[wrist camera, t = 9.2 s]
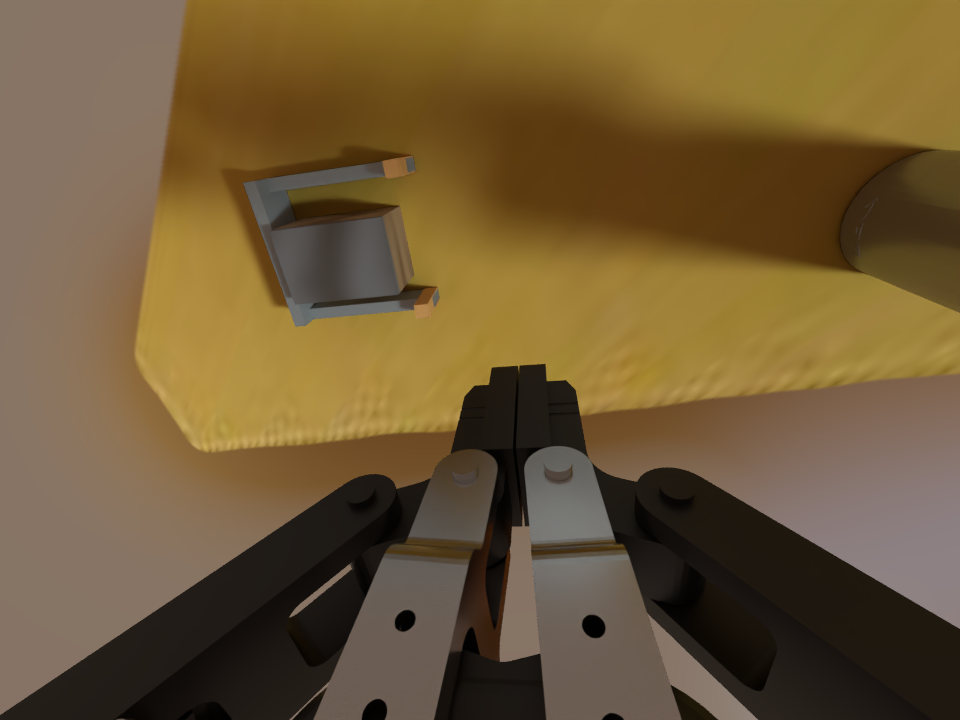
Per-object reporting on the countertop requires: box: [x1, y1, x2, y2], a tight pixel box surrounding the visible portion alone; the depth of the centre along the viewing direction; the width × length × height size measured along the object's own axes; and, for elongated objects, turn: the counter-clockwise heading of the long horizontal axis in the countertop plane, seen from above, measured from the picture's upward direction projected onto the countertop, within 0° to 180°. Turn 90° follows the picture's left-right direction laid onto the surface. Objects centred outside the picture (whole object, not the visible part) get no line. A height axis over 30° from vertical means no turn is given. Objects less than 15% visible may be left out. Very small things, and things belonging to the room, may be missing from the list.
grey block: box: [269, 206, 414, 305], centre depth 35 cm, size 9×6×6 cm, turn 97°
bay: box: [243, 156, 440, 326], centre depth 35 cm, size 12×12×4 cm
